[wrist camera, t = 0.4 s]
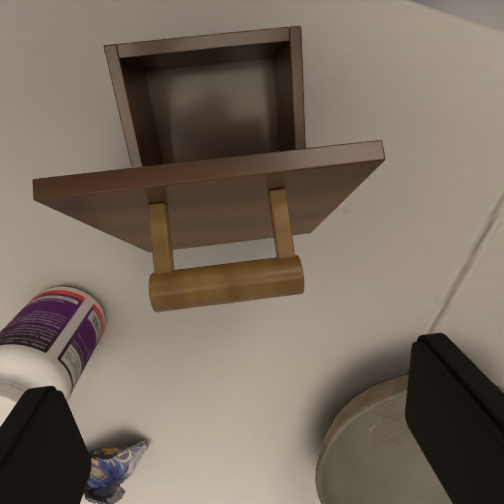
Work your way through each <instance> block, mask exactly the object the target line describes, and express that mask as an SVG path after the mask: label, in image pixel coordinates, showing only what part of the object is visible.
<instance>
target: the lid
mask: <svg viewBox="0 0 504 504" xmlns="http://www.w3.org/2000/svg"><path fill="white" fill-rule="evenodd" d="M384 161H385V154H384V148H383V143H382V140H376V141H367V142H358V143H349V144H341V145H332V146H323V147H314V148H305V149H296V150H287V151H278V152H270V153H261V154H252V155H243V156H234V157H225V158H216V159H207V160H199V161H190V162H181V163H172V164H163V165H154V166H145V167H136V168H128V169H119V170H110V171H101V172H92V173H83V174H74V175H66V176H57V177H48V178H39V179H33V199H34V200H35V201H37V202H39V203H41V204H43V205H46V206H48V207H50V208H52V209H54V210H57V211H59V212H61V213H63V214H65V215H68V216H70V217H72V218H74V219H76V220H79V221H81V222H83V223H85V224H87V225H90V226H92V227H94V228H96V229H98V230H101V231H103V232H105V233H107V234H110V235H112V236H114V237H116V238H118V239H121V240H123V241H125V242H127V243H129V244H132V245H134V246H136V247H138V248H140V249H143V250H145V251H147V252H149V253H150V252H153V263H154V273H152V274H151V275H150V279H149V296H150V301H151V305H152V308H153V310H154V311H155V312H163V311H171V310H179V309H187V308H195V307H202V306H210V305H218V304H226V303H234V302H242V301H250V300H258V299H265V298H273V297H281V296H289V295H297V294H302V293H303V292H304V275H303V269H302V264H301V261H300V258H299V256H297V255H295V252H294V245H293V238H292V235H299V234H307V233H311V232H312V231H313V230H314V229H315V228H316V227H317V226H318V225H319V224H320V223H321V222H322V221H323V220H324V219H325V218H326V217H327V216H328V215H329V214H331V213H332V212H333V211H334V210H335V209H336V208H337V207H338V206H339V205H340V204H341V203H342V202H343V201H344V200H345V199H346V198H347V197H348V196H349V195H350V194H351V193H352V192H353V191H354V190H355V189H356V188H357V187H358V186H359V185H360V184H361V183H362V182H363V181H364V180H365V179H366V178H367V177H368V176H369V175H370V174H371V173H372V172H373V171H374V170H376V169H377V168H378V167H379V166H380V165H381V164H382V163H383V162H384ZM266 238H274V242H275V250H276V257H277V258H269V259H261V260H253V261H245V262H237V263H228V264H220V265H212V266H204V267H196V268H188V269H180V270H174V261H173V250H175V249H183V248H191V247H200V246H208V245H216V244H224V243H233V242H241V241H249V240H257V239H266Z"/></svg>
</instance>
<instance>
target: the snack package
mask: <svg viewBox="0 0 504 504" xmlns="http://www.w3.org/2000/svg"><path fill="white" fill-rule="evenodd" d="M127 443H128V442H127ZM147 449H148V445H147V444H146V442H145V440H143V441H141V442H139V443H138V444H137V445H133V446H121V447H115V448H104V449H96V450H92V451H90V452H88V453H89V455H90V458H91V463H92V467H91V473H90V477H89V479H88V482H87V485H86V488H85V491H84V495H85V499H86V500H88V501H89V502H92V503H98V504H114V503H116V502H117V501H119V500H120V499H121V498H122V496H123V494H124V493H125V490H124V489H123V488H122V487H120V484H121V483H123V482H124V480H125V479H127V478H128V477H129V476H130V474H131V473H132V471H133V470H134V468H135V465H136V463H137V461H138V460H139V458H140V457H141V456H142V454H143V453H144V451H145V450H147Z"/></svg>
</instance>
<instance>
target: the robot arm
mask: <svg viewBox="0 0 504 504" xmlns="http://www.w3.org/2000/svg"><path fill="white" fill-rule="evenodd" d="M405 420H406V423H407V426H408V428H409V430H410V431H411V433H412V435H413V437H414V438H415V440H416V442H417V444H418V445H419V447H420V449H421V450H422V452H423V454H424V456H425V457H426V459H427V461H428V462H429V464H430V466H431V468H432V469H433V471H434V473H435V474H436V476H437V478H438V480H439V481H440V483H441V485H442V486H443V488H444V490H445V492H446V493H447V495H448V497H449V498H450V500H451V502H452V504H504V393H503V392H502V391H501V390H500V389H499V388H498V387H497V386H496V385H495V384H494V383H492V382H491V381H490V380H489V379H488V378H487V377H486V376H485V375H484V374H483V373H482V372H481V371H480V370H479V369H478V368H477V367H476V365H475V364H474V363H473V362H472V361H471V360H470V359H469V358H468V357H467V356H466V355H465V354H464V353H463V352H462V351H461V350H460V349H459V348H458V347H457V346H456V345H455V344H454V343H453V342H452V341H451V340H450V339H449V338H448V337H447V336H446V335H445V334H443V333H436V334H428V335H421V336H419V337H418V339H417V342H413V344H412V350H411V359H410V368H409V377H408V387H407V396H406V405H405ZM91 467H92V463H91V458H90V455H89V453H88V451H87V448H86V446H85V443H84V441H83V439H82V436H81V434H80V432H79V429H78V427H77V424H76V422H75V420H74V417H73V415H72V413H71V410H70V408H69V405H68V403H67V401H66V398H65V396H64V394H63V392H62V391H61V390H58V391H57V389H56V387H54V386H44V387H37V388H29V389H27V390H26V391H25V392H24V393H23V394H22V396H21V397H20V399H19V400H18V402H17V403H16V405H15V406H14V408H13V409H12V410H11V412H10V413H9V415H8V416H7V418H6V419H5V421H4V422H3V424H2V425H1V426H0V504H80V502H81V499H82V496H83V493H84V491H85V488H86V485H87V482H88V479H89V477H90V473H91Z"/></svg>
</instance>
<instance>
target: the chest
mask: <svg viewBox="0 0 504 504" xmlns="http://www.w3.org/2000/svg"><path fill="white" fill-rule="evenodd" d="M104 50H105V54H106V58H107V63H108V67H109V71H110V76H111V80H112V84H113V89H114V93H115V97H116V102H117V106H118V110H119V114H120V119H121V123H122V127H123V132H124V136H125V140H126V145H127V149H128V153H129V158H130V162H131V166H132V168H136V167H145V166H154V165H163V164H172V163H181V162H190V161H199V160H207V159H216V158H225V157H234V156H243V155H252V154H261V153H270V152H278V151H287V150H296V149H305V148H306V143H305V116H304V89H303V62H302V35H301V26H292V27H281V28H271V29H261V30H251V31H241V32H231V33H221V34H211V35H202V36H192V37H182V38H172V39H162V40H152V41H142V42H132V43H122V44H117V45H116V44H112V45H104Z"/></svg>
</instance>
